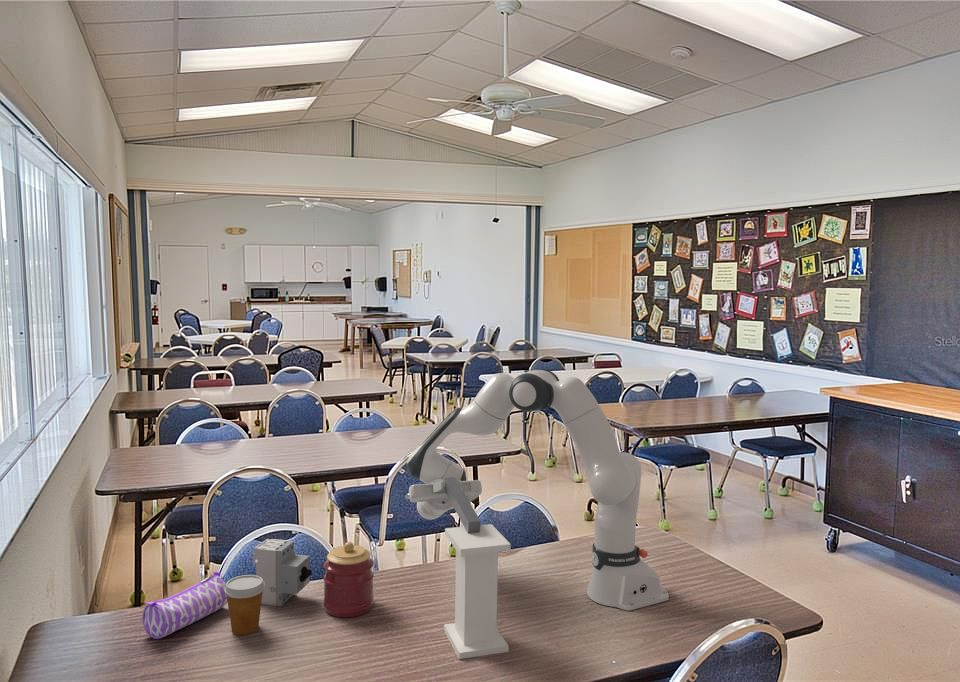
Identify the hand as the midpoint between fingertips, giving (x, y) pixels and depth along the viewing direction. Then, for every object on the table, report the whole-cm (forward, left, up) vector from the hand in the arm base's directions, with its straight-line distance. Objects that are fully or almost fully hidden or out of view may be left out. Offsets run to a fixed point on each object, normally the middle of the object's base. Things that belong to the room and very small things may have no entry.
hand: (451, 484), depth 190 cm
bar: (0, +9, -4) cm, 10 cm away
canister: (+27, -3, -32) cm, 42 cm away
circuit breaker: (+43, -12, -32) cm, 55 cm away
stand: (0, +23, -32) cm, 39 cm away
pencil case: (+67, -6, -33) cm, 74 cm away
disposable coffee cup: (+53, +2, -32) cm, 62 cm away
